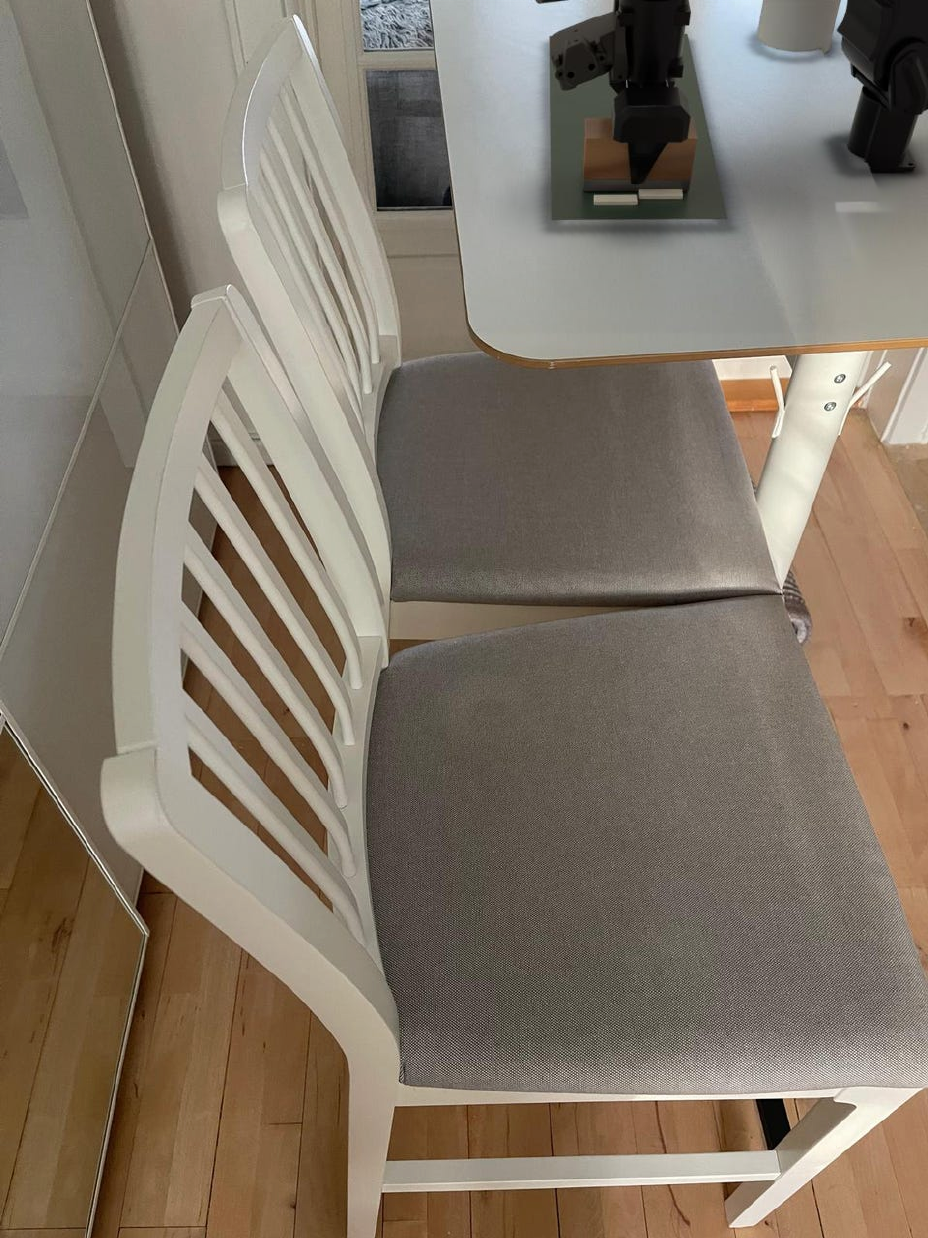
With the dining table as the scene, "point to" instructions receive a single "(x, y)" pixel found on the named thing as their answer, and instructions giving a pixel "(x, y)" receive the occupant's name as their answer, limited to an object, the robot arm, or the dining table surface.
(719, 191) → the chalkboard
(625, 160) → the eraser
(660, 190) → the chalk mark
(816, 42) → the cup
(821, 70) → the dining table surface
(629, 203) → the white rectangular bar
